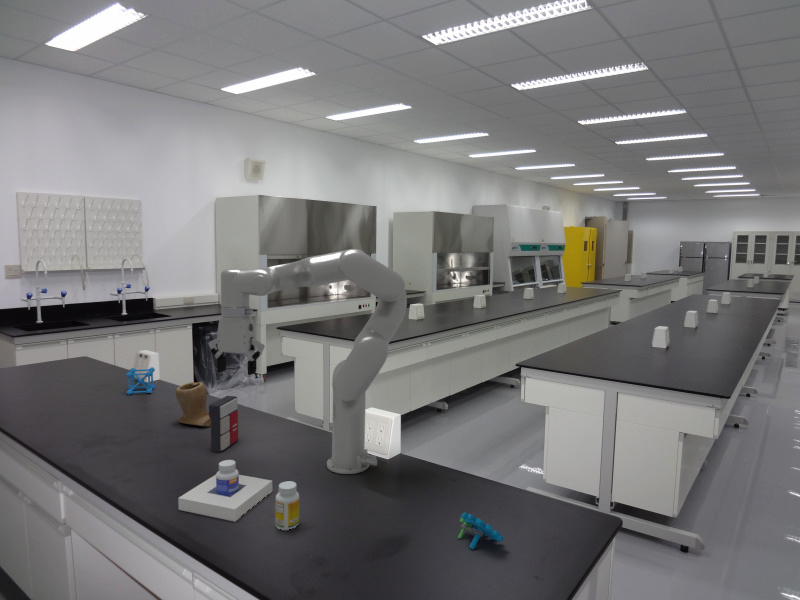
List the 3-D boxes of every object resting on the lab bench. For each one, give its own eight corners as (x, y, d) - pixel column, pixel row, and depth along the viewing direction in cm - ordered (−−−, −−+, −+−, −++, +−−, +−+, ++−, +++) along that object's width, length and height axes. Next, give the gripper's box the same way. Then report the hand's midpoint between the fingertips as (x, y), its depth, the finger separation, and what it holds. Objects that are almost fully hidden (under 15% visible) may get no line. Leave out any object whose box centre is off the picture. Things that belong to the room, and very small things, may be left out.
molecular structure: (130, 389, 227) (130, 367, 226) (155, 388, 230) (155, 366, 229) (126, 396, 217) (125, 372, 216) (151, 394, 220) (151, 371, 219)
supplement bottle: (273, 531, 115) (273, 490, 115) (277, 519, 121) (277, 479, 120) (298, 530, 116) (298, 490, 115) (300, 518, 121) (300, 479, 120)
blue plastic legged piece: (513, 541, 111) (487, 518, 107) (501, 568, 108) (474, 544, 104) (477, 525, 120) (452, 503, 116) (465, 549, 117) (439, 527, 113)
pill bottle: (231, 506, 126) (231, 468, 125) (212, 503, 127) (211, 466, 126) (242, 496, 131) (242, 459, 131) (223, 493, 133) (223, 457, 132)
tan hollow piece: (168, 425, 182) (168, 384, 181) (195, 416, 193) (194, 377, 192) (200, 432, 176) (199, 390, 175) (225, 422, 187) (225, 382, 185)
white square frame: (272, 491, 134) (272, 480, 134) (235, 521, 119) (234, 509, 119) (220, 482, 139) (220, 471, 139) (178, 509, 124) (178, 497, 124)
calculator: (221, 453, 159) (221, 405, 157) (209, 451, 160) (208, 404, 158) (239, 440, 170) (239, 396, 168) (227, 439, 170) (227, 395, 169)
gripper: (270, 312, 145) (270, 372, 147) (216, 310, 150) (218, 367, 151) (255, 315, 138) (256, 378, 140) (200, 313, 143) (202, 373, 144)
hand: (236, 372), depth 146 cm, fingers open, 9 cm apart
